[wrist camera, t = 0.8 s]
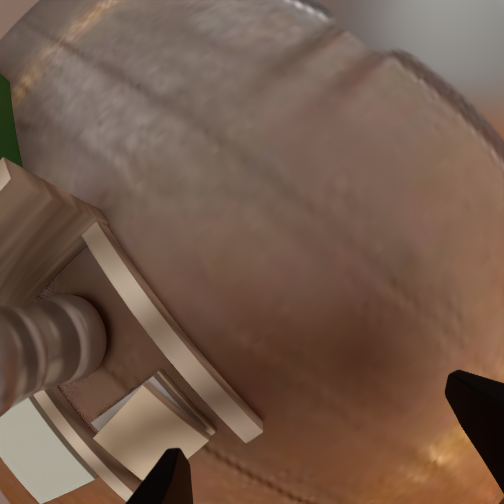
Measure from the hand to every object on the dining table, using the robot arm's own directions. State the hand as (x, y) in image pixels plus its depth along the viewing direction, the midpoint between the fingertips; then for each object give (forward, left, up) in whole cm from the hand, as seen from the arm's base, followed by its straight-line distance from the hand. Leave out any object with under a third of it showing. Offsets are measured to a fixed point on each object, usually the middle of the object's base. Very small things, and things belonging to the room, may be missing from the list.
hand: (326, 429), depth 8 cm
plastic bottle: (-3, +16, -14) cm, 21 cm away
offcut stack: (-9, +8, -14) cm, 19 cm away
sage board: (-17, +22, -14) cm, 31 cm away
